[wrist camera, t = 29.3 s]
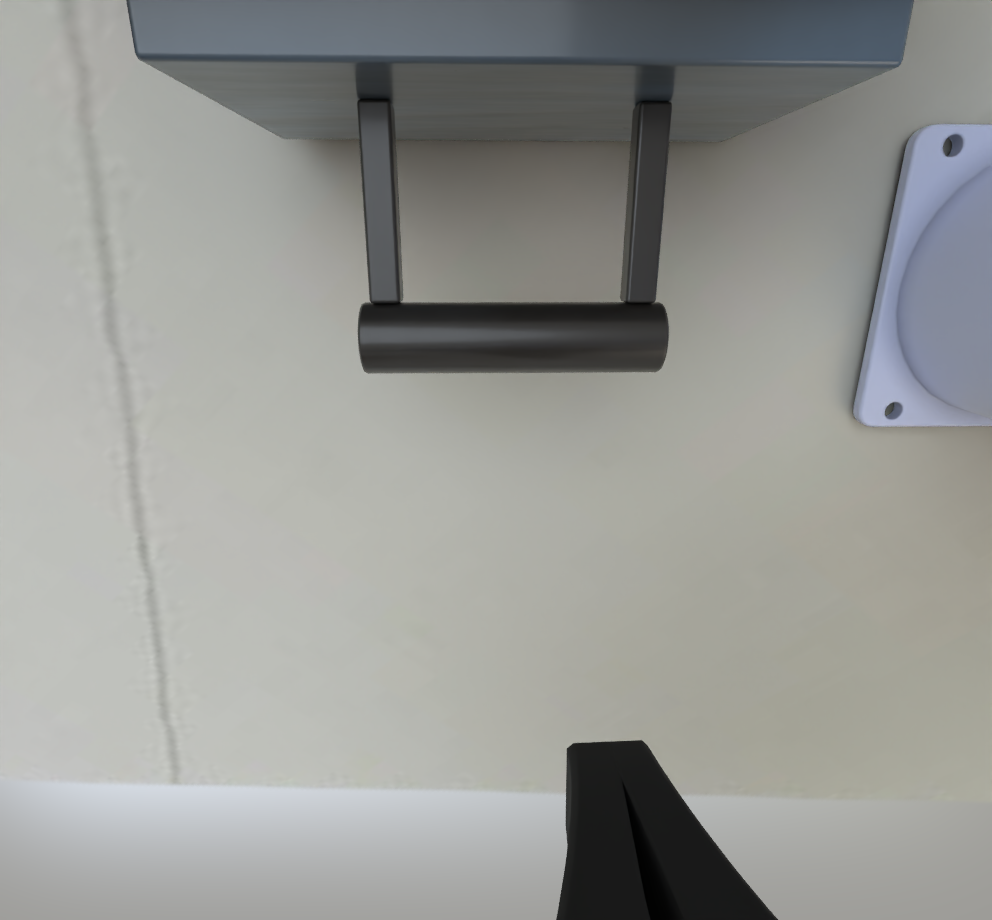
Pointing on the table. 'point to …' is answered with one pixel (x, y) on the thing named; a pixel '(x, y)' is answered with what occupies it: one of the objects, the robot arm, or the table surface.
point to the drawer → (517, 123)
